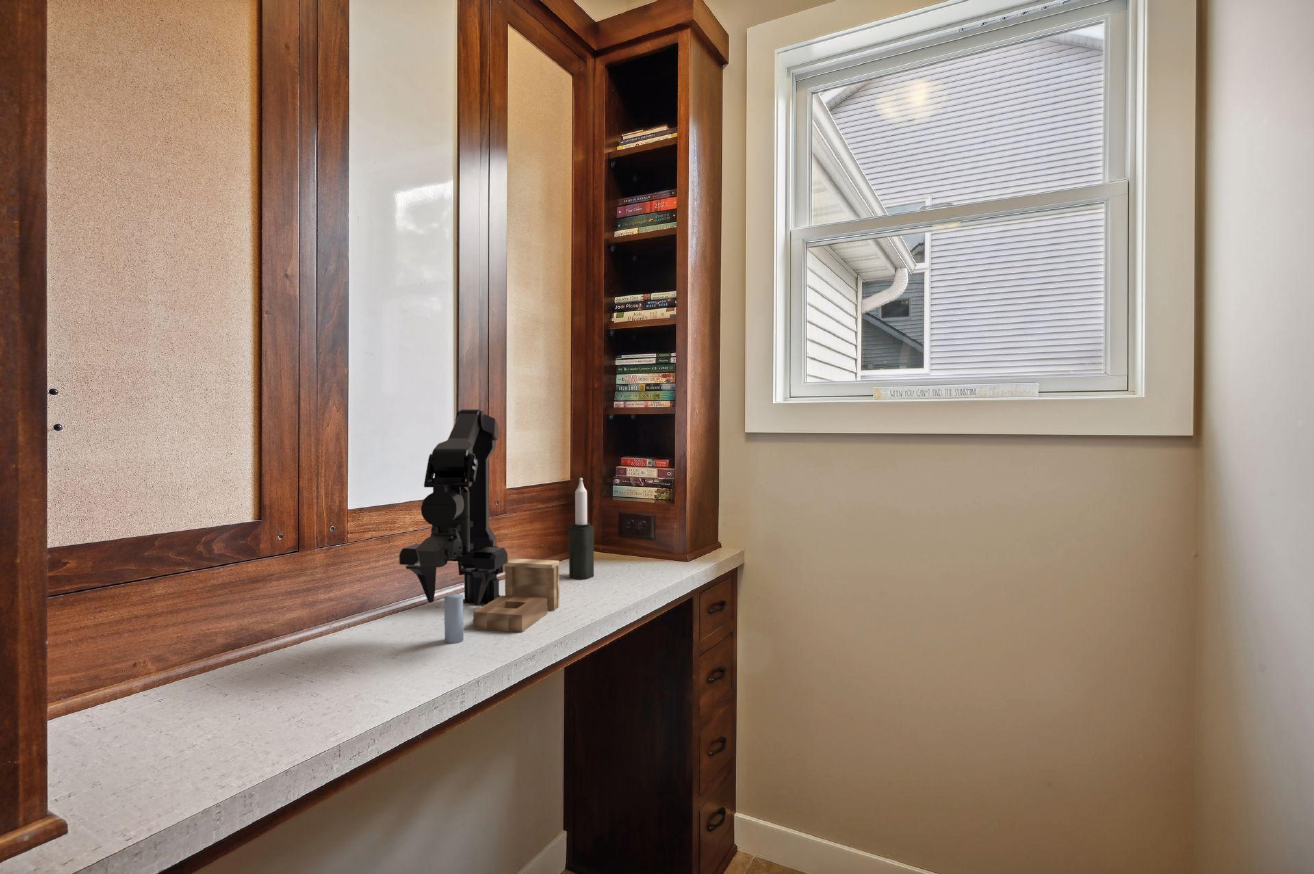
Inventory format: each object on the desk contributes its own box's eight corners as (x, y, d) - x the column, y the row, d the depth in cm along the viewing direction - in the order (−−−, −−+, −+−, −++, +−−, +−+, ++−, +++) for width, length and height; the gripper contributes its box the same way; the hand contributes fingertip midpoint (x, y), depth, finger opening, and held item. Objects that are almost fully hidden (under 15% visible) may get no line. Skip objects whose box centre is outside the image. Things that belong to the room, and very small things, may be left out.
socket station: (471, 628, 127) (470, 577, 127) (511, 603, 144) (511, 558, 144) (524, 632, 125) (524, 580, 124) (559, 606, 142) (559, 560, 141)
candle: (567, 577, 167) (566, 478, 167) (578, 573, 172) (578, 476, 171) (584, 580, 165) (583, 479, 164) (595, 575, 169) (595, 477, 169)
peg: (441, 642, 119) (440, 598, 119) (450, 637, 122) (450, 593, 122) (457, 644, 118) (457, 599, 118) (466, 638, 121) (466, 594, 121)
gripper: (378, 522, 114) (380, 613, 114) (478, 526, 110) (479, 620, 110) (416, 513, 125) (417, 596, 125) (508, 516, 120) (509, 602, 121)
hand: (453, 603), depth 120 cm, fingers open, 9 cm apart
